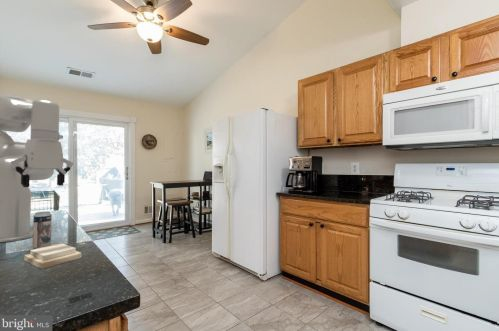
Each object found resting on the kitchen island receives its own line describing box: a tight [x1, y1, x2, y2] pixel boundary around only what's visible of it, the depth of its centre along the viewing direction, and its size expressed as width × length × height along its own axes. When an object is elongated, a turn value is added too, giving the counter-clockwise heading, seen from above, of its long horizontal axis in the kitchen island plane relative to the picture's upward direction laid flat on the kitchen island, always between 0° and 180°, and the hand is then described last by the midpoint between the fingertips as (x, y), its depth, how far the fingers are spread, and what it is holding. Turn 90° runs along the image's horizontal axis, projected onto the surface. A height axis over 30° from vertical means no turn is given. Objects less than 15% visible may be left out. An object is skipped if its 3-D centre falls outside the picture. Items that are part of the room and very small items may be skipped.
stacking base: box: [23, 243, 83, 270], centre depth 75 cm, size 12×10×3 cm
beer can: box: [32, 211, 53, 249], centre depth 85 cm, size 5×5×12 cm
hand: (43, 186), depth 85 cm, fingers open, 9 cm apart
